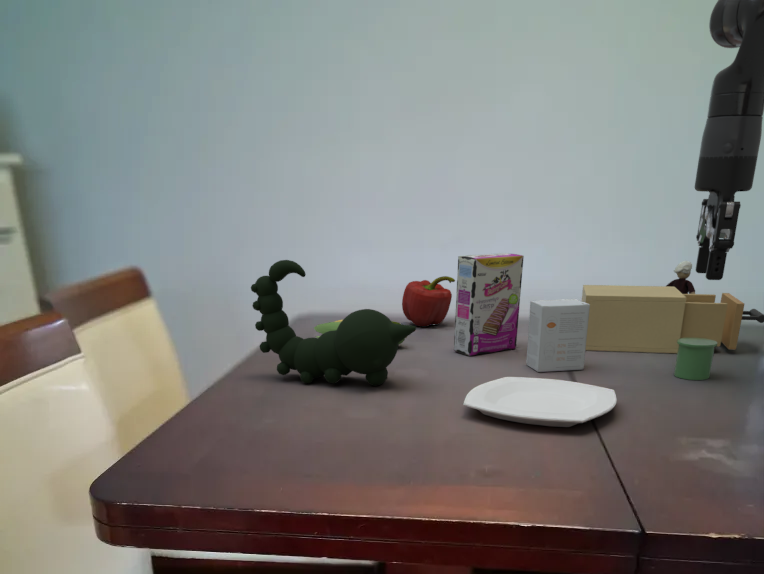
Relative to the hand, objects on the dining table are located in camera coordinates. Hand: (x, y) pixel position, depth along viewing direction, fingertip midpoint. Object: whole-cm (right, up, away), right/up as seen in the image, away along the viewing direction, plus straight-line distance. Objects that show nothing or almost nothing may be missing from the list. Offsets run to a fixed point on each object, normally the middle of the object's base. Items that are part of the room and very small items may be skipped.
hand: (708, 276), depth 110 cm
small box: (-20, -11, +12) cm, 26 cm away
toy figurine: (-55, -15, +5) cm, 58 cm away
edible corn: (-53, -3, +30) cm, 61 cm away
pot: (0, -14, +6) cm, 15 cm away
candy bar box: (-30, -6, +24) cm, 39 cm away
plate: (-27, -21, -10) cm, 36 cm away
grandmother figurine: (+13, +4, +46) cm, 48 cm away
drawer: (+9, -4, +25) cm, 27 cm away
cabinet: (-3, -4, +28) cm, 29 cm away
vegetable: (-39, +4, +47) cm, 61 cm away
